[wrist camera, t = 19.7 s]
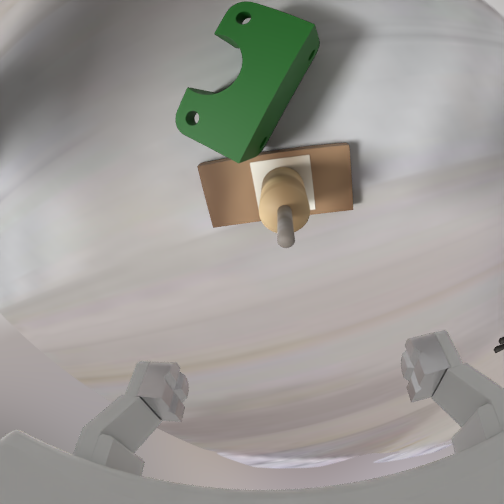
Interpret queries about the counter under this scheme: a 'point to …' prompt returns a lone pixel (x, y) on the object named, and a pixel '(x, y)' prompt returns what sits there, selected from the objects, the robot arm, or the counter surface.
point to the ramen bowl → (500, 347)
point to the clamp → (251, 81)
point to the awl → (284, 204)
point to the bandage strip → (254, 170)
